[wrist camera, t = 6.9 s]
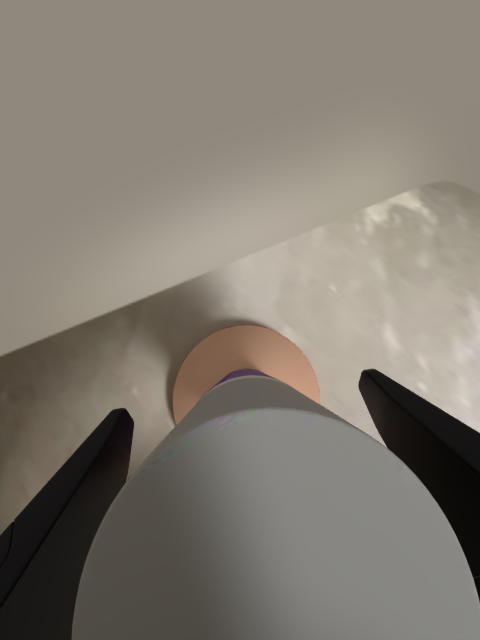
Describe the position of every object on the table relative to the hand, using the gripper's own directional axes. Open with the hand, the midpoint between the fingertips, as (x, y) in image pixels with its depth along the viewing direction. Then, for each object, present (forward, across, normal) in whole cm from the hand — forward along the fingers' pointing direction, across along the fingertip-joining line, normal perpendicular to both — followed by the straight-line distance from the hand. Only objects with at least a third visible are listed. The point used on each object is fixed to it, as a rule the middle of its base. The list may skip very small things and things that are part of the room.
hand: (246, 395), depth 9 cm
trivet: (+6, 0, +8) cm, 10 cm away
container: (+5, 0, +8) cm, 9 cm away
